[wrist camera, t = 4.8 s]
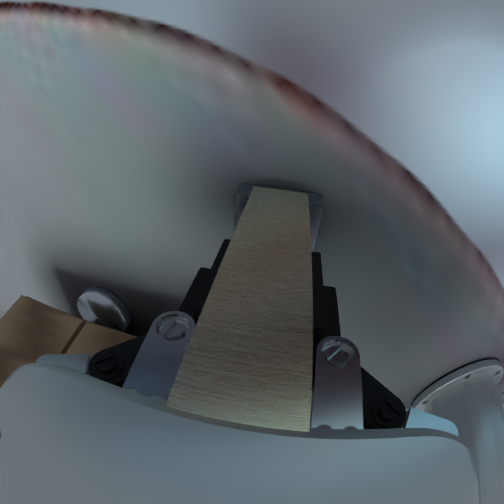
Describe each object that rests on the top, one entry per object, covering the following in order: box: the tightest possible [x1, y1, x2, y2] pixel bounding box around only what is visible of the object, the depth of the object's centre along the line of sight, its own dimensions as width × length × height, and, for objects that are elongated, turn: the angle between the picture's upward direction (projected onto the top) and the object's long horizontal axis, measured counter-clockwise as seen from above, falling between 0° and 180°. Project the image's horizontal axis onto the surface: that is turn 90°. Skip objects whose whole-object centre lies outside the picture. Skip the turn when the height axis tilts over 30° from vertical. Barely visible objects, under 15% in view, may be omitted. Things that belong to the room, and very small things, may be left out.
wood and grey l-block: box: [165, 184, 324, 432], centre depth 13 cm, size 4×16×12 cm, turn 176°
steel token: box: [77, 286, 131, 333], centre depth 21 cm, size 5×5×2 cm
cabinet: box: [0, 295, 136, 388], centre depth 17 cm, size 17×16×16 cm
